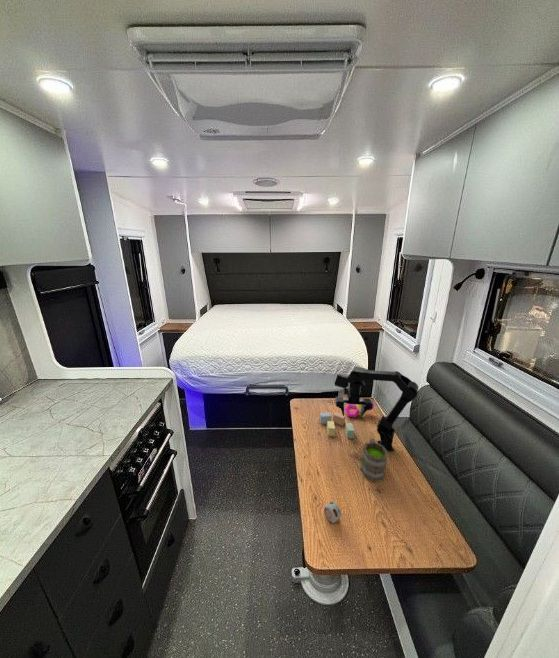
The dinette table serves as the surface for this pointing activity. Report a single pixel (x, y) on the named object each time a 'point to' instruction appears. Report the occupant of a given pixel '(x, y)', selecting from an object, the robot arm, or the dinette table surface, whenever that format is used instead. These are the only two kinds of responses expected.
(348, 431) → the green brick
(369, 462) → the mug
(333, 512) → the roller toy
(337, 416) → the terracotta brick
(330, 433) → the mustard brick
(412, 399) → the robot arm
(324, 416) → the slate brick
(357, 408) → the toy
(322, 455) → the dinette table surface
